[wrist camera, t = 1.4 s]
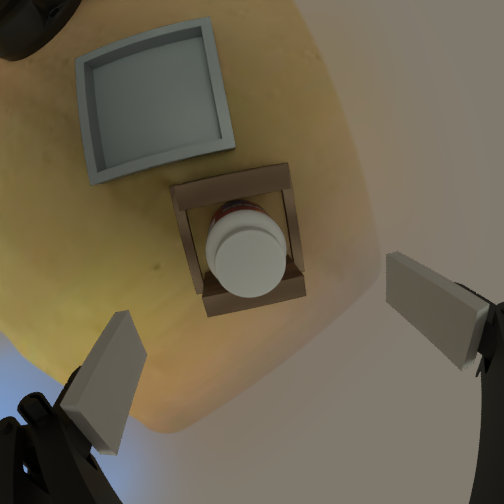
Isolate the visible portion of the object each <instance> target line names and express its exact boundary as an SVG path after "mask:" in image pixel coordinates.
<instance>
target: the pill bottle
mask: <svg viewBox="0 0 504 504" xmlns="http://www.w3.org/2000/svg"><path fill="white" fill-rule="evenodd" d="M286 249H287V248H286V241H285V238H284V235H283V233H282V231H281V229H280V227H279V226H278V225H277V223H276V222H275V221H274V220H273V219H272V218H271V217H270V216H269V215H268V214H267V213H266V212H265V211H264V210H263V209H262V208H261V207H260V206H259V205H257V204H255V203H253V202H251V201H247V200H235V201H231V202H228V203H226V204H224V205H223V206H221V207H220V208H219V209H218V210H217V211H216V213H215V214H214V216H213V218H212V220H211V223H210V227H209V232H208V236H207V241H206V249H205V252H206V260H207V263H208V266H209V268H210V270H211V272H212V273H213V275H214V276H215V277H216V278H217V279H218V280H219V282H220V283H221V285H222V286H223V287H224V288H225V289H226V290H228V291H229V292H231V293H232V294H234V295H237V296H240V297H247V298H251V297H258V296H262V295H264V294H266V293H268V292H270V291H271V290H272V289H274V288H275V287H276V286H277V285H278V284H279V282H280V281H281V279H282V277H283V275H284V272H285V268H286Z"/></svg>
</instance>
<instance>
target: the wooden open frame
mask: <svg viewBox="0 0 504 504" xmlns="http://www.w3.org/2000/svg"><path fill="white" fill-rule="evenodd" d="M169 188H170V192H171V197H172V201H173V206H174V210H175V214H176V218H177V222H178V226H179V230H180V234H181V238H182V242H183V246H184V250H185V254H186V258H187V261H188V265H189V269H190V272H191V276H192V280H193V283H194V287H195V290H196V294H202V293H203V294H202V299H203V303H204V306H205V310H206V313H207V316H208V317H212V316H217V315H222V314H227V313H232V312H237V311H241V310H246V309H251V308H255V307H260V306H264V305H269V304H273V303H278V302H282V301H286V300H291V299H295V298H299V297H303V296H306V290H305V282H304V275H303V274H302V273H301V272H304V263H303V256H302V248H301V241H300V234H299V227H298V220H297V214H296V207H295V201H294V195H293V189H292V183H291V177H290V171H289V165H288V163H281V164H277V165H269V166H263V167H257V168H252V169H247V170H241V171H236V172H231V173H226V174H221V175H217V176H212V177H207V178H203V179H199V180H194V181H190V182H186V183H182V184H177V185H173V186H170V187H169ZM280 190H282V195H283V201H284V207H285V213H286V220H287V226H288V232H289V239H290V245H291V252H292V259H293V261H292V259H291V258H290V257H289V255H286V268H285V272H284V275H283V277H282V279H281V281H280V282H279V284H278V285H277V286H276V287H275V288H274V289H272V290H271V291H270V292H268V293H266V294H264V295H262V296H258V297H251V298H247V297H240V296H237V295H234V294H232V293H231V292H229V291H228V290H226V289H225V288H224V287H223V286H222V285H221V283H220V282H219V280H218V279H217V278H216V277H215V276H214V275H213V273H212V272H207V273H205V278H204V281H203V277H202V274H201V270H200V266H199V262H198V258H197V254H196V250H195V246H194V242H193V238H192V234H191V230H190V226H189V222H188V218H187V213H186V210H188V209H192V208H197V207H201V206H206V205H210V204H215V203H219V202H224V201H229V200H234V199H239V198H244V197H249V196H254V195H259V194H264V193H269V192H275V191H280Z"/></svg>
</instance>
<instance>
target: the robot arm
mask: <svg viewBox="0 0 504 504" xmlns="http://www.w3.org/2000/svg"><path fill="white" fill-rule="evenodd" d="M80 1H81V0H0V58H3V59H5V60H8V61H16V60H20V59H22V58H25V57H27V56H29V55H30V54H32V53H34V52H35V51H37V50H38V49H40V48H41V47H42V46H43V45H45V44H46V43H47V42H48V41H49V40H50V39H51V38H53V37H54V36H55V35H56V34H57V33H58V32H59V30H60V29H61V28H62V27H63V26H64V25H65V24H66V22H67V21H68V20H69V19H70V17H71V16H72V15H73V13H74V12H75V10H76V8H77V7H78V5H79V3H80ZM386 302H387V303H388V304H389V305H391V306H392V307H393V308H394V309H395V310H396V311H397V312H398V313H400V314H401V315H402V316H403V317H404V318H405V319H406V320H407V321H408V322H410V323H411V324H412V325H413V326H414V327H415V328H416V329H417V330H419V331H420V332H421V333H422V334H423V335H424V336H425V337H426V338H427V339H428V340H429V341H430V342H431V343H433V344H434V345H435V346H436V347H437V348H438V349H439V350H440V351H441V352H442V353H443V354H444V355H445V356H446V357H447V358H448V359H450V360H451V362H453V363H454V364H455V365H456V366H457V367H458V368H459V369H460V370H461V371H463V370H464V369H466V368H467V367H469V366H471V365H472V364H473V363H474V361H475V358H476V355H477V352H479V353H480V354H482V358H481V362H480V364H479V367H478V370H477V373H476V377H478V375H479V372H480V371H481V383H482V384H481V388H482V410H481V430H480V442H479V451H478V459H477V467H476V472H475V478H474V483H473V488H472V493H471V498H470V501H469V504H504V302H502V303H499V304H498V305H495V304H494V303H492V302H490V301H489V300H487V299H485V298H484V297H482V296H481V295H479V294H476V292H474V291H472V290H470V289H469V288H467V287H466V286H464V285H462V284H459V283H456V282H452V281H451V280H449V279H447V278H445V277H444V276H442V275H440V274H438V273H436V272H435V271H433V270H431V269H430V268H428V267H426V266H424V265H422V264H420V263H419V262H417V261H415V260H413V259H411V258H409V257H407V256H406V255H404V254H402V253H400V252H398V251H397V252H393V253H389V254H386ZM146 357H147V353H146V351H145V349H144V346H143V344H142V342H141V340H140V337H139V335H138V333H137V330H136V328H135V325H134V323H133V320H132V318H131V315H130V313H129V310H126V311H120V312H115V314H114V315H113V317H112V318H111V320H110V321H109V323H108V324H107V326H106V327H105V329H104V331H103V332H102V334H101V335H100V337H99V338H98V340H97V342H96V343H95V345H94V346H93V348H92V350H91V351H90V353H89V355H88V356H87V358H86V360H85V361H84V363H83V365H82V366H79V367H78V368H77V369H76V370H75V371H74V372H73V373H72V374H71V376H70V378H69V379H68V383H66V384H65V386H64V389H63V390H62V391H61V393H60V395H59V397H58V399H57V400H56V402H55V404H54V406H53V407H52V406H51V405H50V403H49V402H48V401H47V399H46V398H45V396H44V395H43V394H42V393H40V392H33V393H30V394H28V395H27V396H25V397H24V398H23V399H22V400H21V401H20V403H19V405H18V408H17V411H18V412H19V414H20V415H21V416H22V417H23V419H24V420H25V421H26V422H27V423H28V425H20V423H19V422H18V421H17V420H16V418H14V417H12V416H9V417H6V418H3V419H2V420H0V504H123V503H122V502H121V500H120V499H119V497H118V496H117V494H116V493H115V491H114V490H113V488H112V487H111V485H110V483H109V482H108V480H107V479H106V477H105V475H104V473H103V472H102V470H101V468H100V467H99V465H98V463H97V461H96V459H95V457H94V456H93V455H92V454H91V453H90V450H91V447H92V446H93V447H94V448H95V449H96V450H97V451H98V452H99V453H100V454H104V455H117V453H118V449H119V446H120V442H121V438H122V434H123V431H124V427H125V424H126V421H127V417H128V414H129V410H130V407H131V404H132V400H133V397H134V394H135V391H136V388H137V385H138V381H139V378H140V375H141V372H142V369H143V366H144V363H145V360H146ZM23 465H24V466H26V467H27V468H28V472H27V473H25V472H24V469H23Z"/></svg>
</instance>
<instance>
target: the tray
mask: <svg viewBox="0 0 504 504" xmlns="http://www.w3.org/2000/svg"><path fill="white" fill-rule="evenodd" d="M75 71H76V88H77V101H78V111H79V120H80V128H81V135H82V142H83V148H84V154H85V160H86V165H87V170H88V175H89V180H90V185H91V186H92V185H98V184H103V183H106V182H109V181H112V180H116V179H119V178H122V177H125V176H128V175H132V174H135V173H139V172H142V171H146V170H149V169H153V168H156V167H160V166H164V165H168V164H172V163H176V162H180V161H184V160H188V159H192V158H196V157H201V156H205V155H210V154H215V153H219V152H224V151H229V150H234V149H235V148H236V145H235V140H234V135H233V130H232V125H231V120H230V115H229V110H228V104H227V99H226V94H225V89H224V84H223V79H222V74H221V69H220V64H219V59H218V54H217V49H216V44H215V39H214V34H213V29H212V24H211V19H210V17H204V18H199V19H194V20H189V21H184V22H180V23H175V24H171V25H167V26H163V27H159V28H156V29H152V30H149V31H146V32H142V33H139V34H136V35H133V36H130V37H127V38H124V39H121V40H119V41H116V42H113V43H111V44H108V45H105V46H103V47H101V48H98V49H96V50H93V51H91V52H89V53H87V54H84V55H82V56H80V57H78V58H76V59H75Z"/></svg>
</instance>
